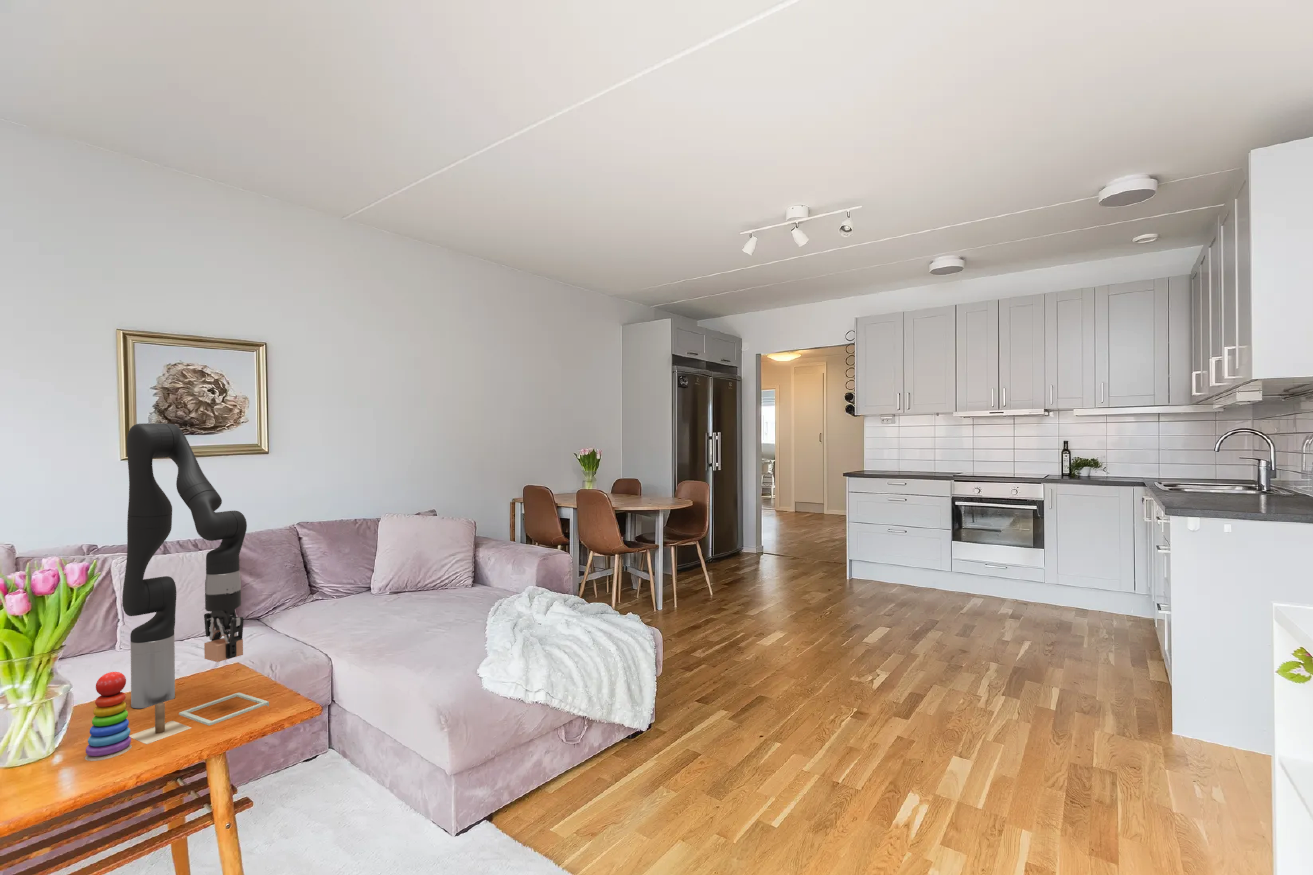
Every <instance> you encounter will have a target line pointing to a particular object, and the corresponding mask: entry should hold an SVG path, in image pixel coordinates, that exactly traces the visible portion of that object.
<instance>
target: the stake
mask: <svg viewBox="0 0 1313 875" xmlns="http://www.w3.org/2000/svg"><path fill="white" fill-rule="evenodd" d="M165 708H166V702H162V703H158V704H155V705H154V726H153V727H150V728H146V729H144V730H141V731H138V732H134V733H132V734H129V736H130V737H131V739H133V740H135V741H138V742H140V743H142V744H144V745H149V744H152V743H154V742H156V741H160V740H162V739H163V740H164V739H166V738H168V737H171V736H174V735H176V734H179V733H182V732H185V731H187V730H190V729H192V727H191V726H188V725H186V724H183V723H181V722H178V721H175V720H170V721H167V722H166V709H165Z"/></svg>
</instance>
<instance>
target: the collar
mask: <svg viewBox="0 0 1313 875" xmlns="http://www.w3.org/2000/svg"><path fill="white" fill-rule="evenodd" d="M229 638H230V635H229ZM203 644H204V648H203V649H204V650H203V654H204V660H207V661H211V662H216V663H219V662H223V661H226V660H228V659H227V658H226V642H225V638H224V637H222V638H221V639H218V640H214V641H212V640H209V641H207V642H204V643H203ZM243 655H244V638H242V640H239V641H237V642H236V657H233V658H237V657H241V656H243ZM233 658H232V659H233Z"/></svg>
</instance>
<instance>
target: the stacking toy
mask: <svg viewBox="0 0 1313 875" xmlns="http://www.w3.org/2000/svg"><path fill="white" fill-rule="evenodd" d="M126 684H127V678H126V676H125V675H124V674H123V673H122V672H119V671H109V672H106V673H104V674H103V675H102V676H100V677H99V678H98V680H97V681H96V684H95V691H96V692H97V693H98V695H99V696H98V697H96V699H95V700H94V701H95V702H94V704H95V706H96V707H95V708H93V712H92V713H93V717H92V719H91V723H92V726H91V727H90V729H89V734H90V735H89V737H88V739H87V743H88V745H87V746H86V748H85V756H84V760H86V761H87V762H97V761H104V760H107V759H112V758H116V757H117V756H120V755H123V754H125V753H126V752H128V751H130V750H131V749H132V744H131V743H132V738H131V737H130V736H129V735H131V728H130V727H129V724H130V721H129V719H128V715H129V712H128V711H127V710H126V708H127V702H125V700H126V697H127V696H126V694H125V692H123V691H122V690H124V688H125V686H126Z"/></svg>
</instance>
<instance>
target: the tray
mask: <svg viewBox="0 0 1313 875" xmlns="http://www.w3.org/2000/svg"><path fill="white" fill-rule="evenodd" d="M236 697H237V698H241V699H244V700H246V701H249V702H253V703H256V704H254V705H252V706H249V707H246V708H244V709H240V710H239V711H235V712H233V713H230V714H227V715H223V716H221V717H218V718H216V719H214V720H211V719H207V718H204V717H202V716H198V715H195V714H193V712H195V711H199V710H201V709H204V708H206V707H210V706H213V705H216V704H220V703H222V702H225V701H227V700H230V699H234V698H236ZM264 706H266V707H270V701H267V700H264V699H261V698H258V697H255V696H252V695H248V694H245V693H242V692H236V693H233V694H230V695H227V696H224V697H221V698H218V699H215V700H212V701H209V702H206V703H202V704H200V705H198V706H194V707H191V708H188V709H185V710H183V711H180V712H178V715H179V716H181V717H184V718H187V719H190V720H192V721H194V722H198V723H200V724H203V725H206V726H212V725H215V724H218V723H220V722H223V721H226V720H228V719H233V718H234V717H237V716H239V715H240V716H241V715H242V714H245V713H247V712H250V711H251V712H252V711H253V710H257V709H259V708H262V707H264Z"/></svg>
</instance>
